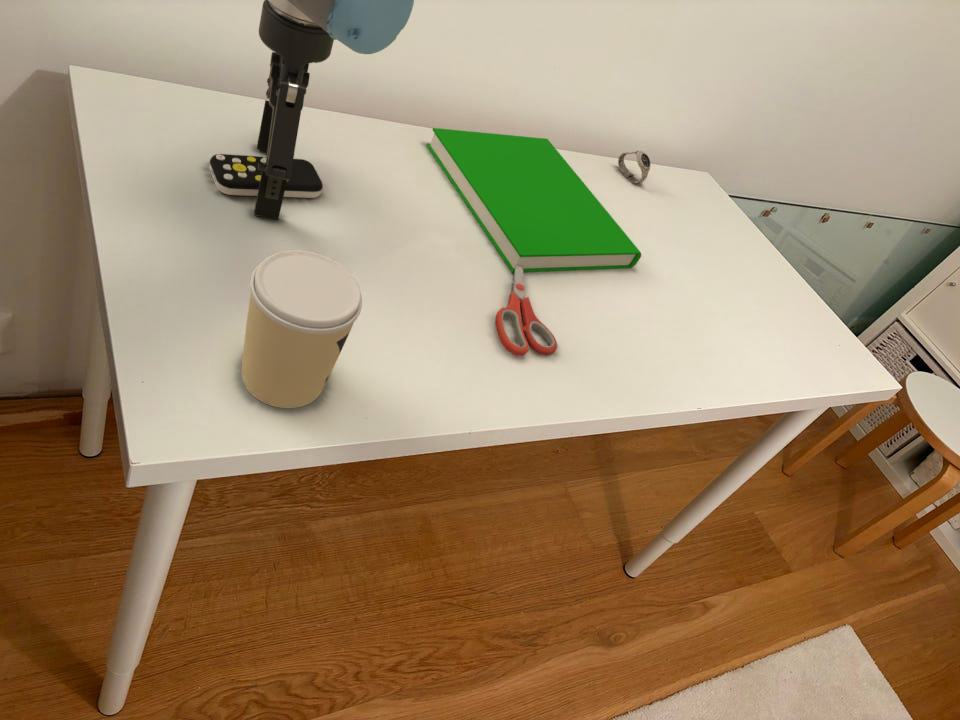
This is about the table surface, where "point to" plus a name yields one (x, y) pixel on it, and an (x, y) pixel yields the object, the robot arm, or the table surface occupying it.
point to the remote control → (245, 177)
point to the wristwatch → (642, 162)
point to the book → (531, 203)
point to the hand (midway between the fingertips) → (267, 181)
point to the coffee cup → (296, 326)
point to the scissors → (528, 320)
